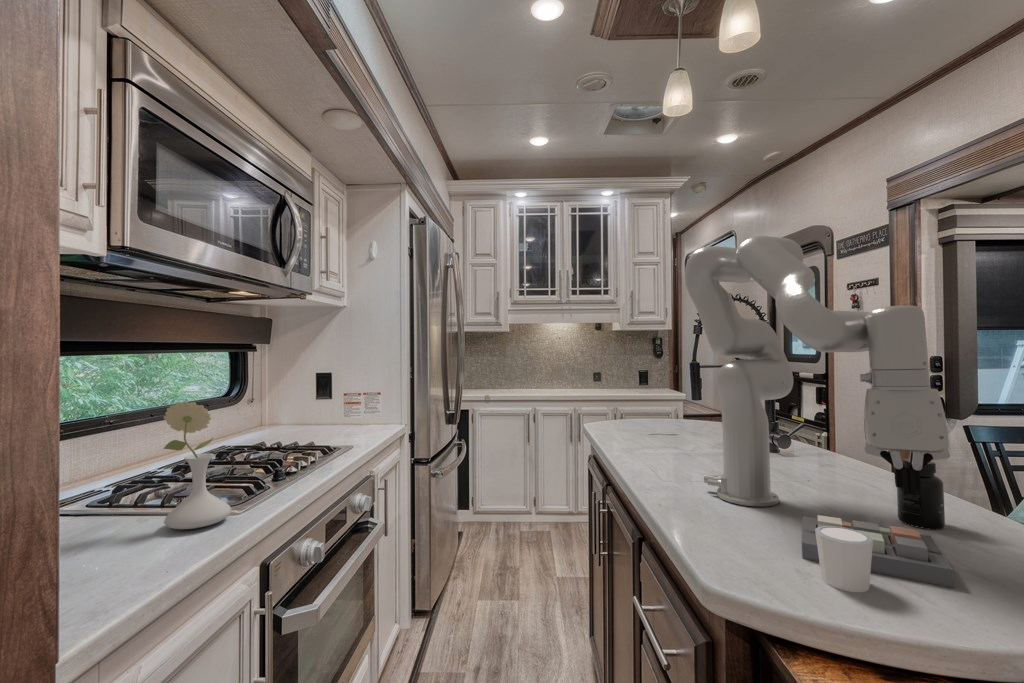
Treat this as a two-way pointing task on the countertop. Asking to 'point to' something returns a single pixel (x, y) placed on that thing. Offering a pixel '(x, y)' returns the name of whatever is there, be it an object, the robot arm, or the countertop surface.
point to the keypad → (891, 554)
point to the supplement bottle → (923, 501)
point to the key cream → (829, 521)
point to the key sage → (876, 542)
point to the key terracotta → (903, 533)
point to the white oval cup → (844, 557)
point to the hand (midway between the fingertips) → (908, 492)
